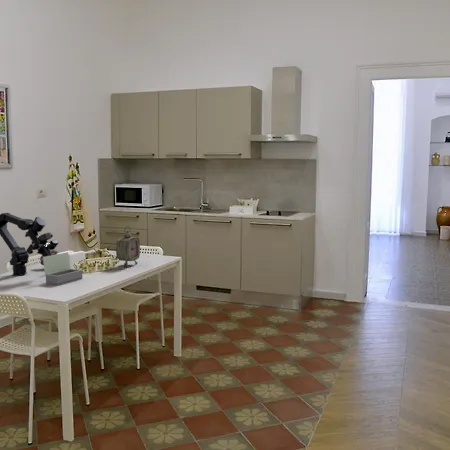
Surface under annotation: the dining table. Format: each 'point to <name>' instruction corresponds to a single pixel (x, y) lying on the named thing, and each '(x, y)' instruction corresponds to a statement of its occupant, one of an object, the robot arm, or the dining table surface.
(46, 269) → the cover
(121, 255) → the tabletop clock
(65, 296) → the dining table surface
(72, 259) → the cable organizer
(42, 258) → the decorative flower
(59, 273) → the grey open box
